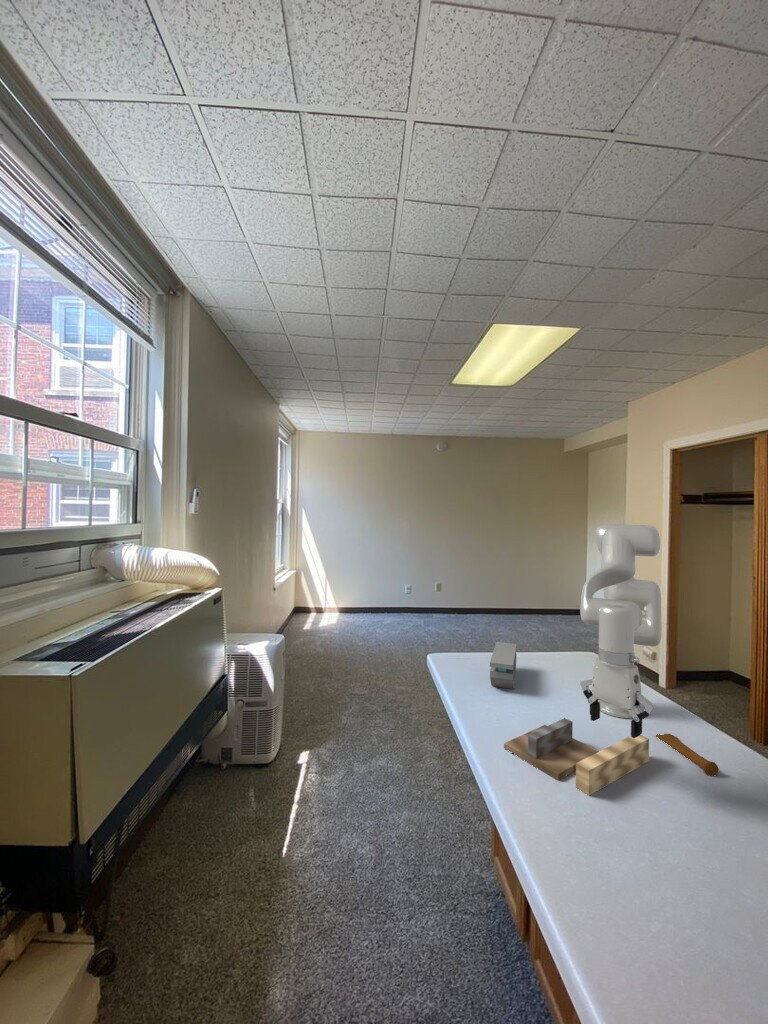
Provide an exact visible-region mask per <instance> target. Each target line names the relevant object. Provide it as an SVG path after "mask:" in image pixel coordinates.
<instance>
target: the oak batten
mask: <svg viewBox="0 0 768 1024" xmlns="http://www.w3.org/2000/svg"><path fill="white" fill-rule="evenodd" d="M598 751H599V752H597V753H595V754H593V755H591V756H589V757H587V758H585V759H583V760H581V761H579V762H577V763H576V770H575V789H576V788H577V790H578V789H579V790H578V791H580V790H581V791H582V793H583V792H584V793H583V794H585V795H586V794H587V795H586V796H588V795H590V796H591V795H593V794H595V793H596V791H597V792H599V791H600V790H601V788H602V789H603V788H605V787H607V786H609V785H610V784H612V783H614V782H615V781H617V780H619V779H620V777H621V778H622V777H624V776H625V775H628V774H629V773H632V771H634V770H636V769H638V768H640V767H641V766H642V765H645V764H646V763H648V762H649V761H650V738H648V737H645V736H643V735H642V734H641V735H640V736H638V737H636V738H633V737H632V736H631V735H629V736H628V737H626V738H624V739H622V740H619V741H617V742H615V743H614V744H611V745H609V746H608V747H606V748H605V747H604V749H602V750H598ZM647 761H648V762H647ZM644 763H645V764H644ZM613 781H614V782H613ZM608 784H609V785H608ZM606 785H607V786H606ZM599 789H600V790H599ZM581 791H580V792H581ZM594 792H595V793H594Z"/></svg>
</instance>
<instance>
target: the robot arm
mask: <svg viewBox="0 0 768 1024" xmlns="http://www.w3.org/2000/svg"><path fill="white" fill-rule="evenodd" d="M594 537H595V542H596V546H597V548H598V551H599V554H600V556H601V560H600V561H601V562H600V568H599V569H597V570H596V571H594V572H593V573H592V574H590V575H589V576H588V578H587V579H586V581H584V584H583V586H582V588H581V589H582V591H581V594H580V596H581V597H580V607H579V613H580V619H581V621H582V622H583V623H584V624H585V625H587V626H589V627H594V628H595V627H596V628H598V656H597V657H596V658H595V662H594V665H593V668H592V677H591V679H585V680H582V681H580V682H579V684H580V686H581V690H582V692H583V695H584V696H585V698H586V699H587V703H588V704H589V715H590V721H592V722H594V721H597V720H599V719H600V718H601V712H602V713H604V714H606V715H609V716H611V717H616V718H622V719H631V722H630V736H632V737H633V738H636V737H638V736H640V735H642V733H643V720H644V719H646V718H648V717H650V716H651V714H652V713H653V711H654V710H655V709H656V706H655V704H653V702H652V701H650V700H648V699H647V697H645V696H644V695H643V694H642V684H641V678H640V672H639V668H638V665H637V664H639V663H640V657H636V655H635V652H634V650H635V649H634V647H635V645H637V646H643V647H644V646H647V647H657V646H658V645H660V644H661V640H662V592H661V589H660V587H659V585H658V584H657V583H656V582H655V581H652V580H648V579H636V578H634V577H635V574H636V557H638V556H639V557H656V556H658V554H659V553H660V549H661V536H660V533H659V531H658V530H657V528H656V527H655V526H653V525H649V524H648V525H647V524H646V525H645V524H624V523H623V524H622V523H621V524H616V523H615V524H612V523H611V524H603V525H599V526H597V527H596V528H595V530H594ZM602 589H603V598H601V597H593V596H594V595H595V593H597V592H598V591H600V590H602ZM643 612H644V613H643ZM590 686H591V689H590ZM641 706H643V707H644V709H643V711H642V710H641V709H640V707H641Z"/></svg>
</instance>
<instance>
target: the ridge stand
mask: <svg viewBox="0 0 768 1024" xmlns="http://www.w3.org/2000/svg"><path fill="white" fill-rule="evenodd" d="M573 723H574V722H573V721H572V720H570V719H568V718H566V717H564V718H562V719H559V720H558V721H555V722H553V723H551V724H549V725H546V724H543V725H541V726H539V727H537V728H535V729H532V730H530V731H528V732H525V733H523V734H522V735H519V736H517V737H515V738H513V739H510V740H508V741H506V742H504V743H503V748H505V749H506V751H507V750H509V751H510V752H512V753H514V754H515V755H517V756H518V757H517V756H516V757H517V758H519V757H520V758H522V759H523V760H522V759H521V760H522V761H524V760H525V761H524V762H526V761H527V762H528V763H527V762H526V763H527V764H528V765H531V766H532V765H533V766H532V767H534V768H536V769H537V768H538V769H537V770H539V771H541V772H543V773H544V774H546V775H548V776H549V777H551V778H553V779H555V780H556V781H560V780H561V778H562V779H563V778H565V777H567V776H568V775H571V774H572V773H573V772H576V763H577V762H579V761H581V760H583V759H585V758H587V757H589V756H591V755H593V754H595V753H597V752H599V751H600V750H598V749H596V748H594V747H592V746H590V745H589V744H586V743H584V742H582V741H579V740H577V739H576V738H573V726H574V725H573ZM505 749H504V750H505ZM509 751H508V752H509ZM510 752H509V753H510ZM512 753H511V754H512ZM514 754H513V755H514ZM515 755H514V756H515ZM520 758H519V759H520ZM566 775H567V776H566Z"/></svg>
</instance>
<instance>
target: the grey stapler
mask: <svg viewBox="0 0 768 1024" xmlns="http://www.w3.org/2000/svg"><path fill="white" fill-rule="evenodd" d="M517 646H518V645H517V644H516V643H512V642H511V643H509V642H502V641H496V642H495V645H494V649H493V652H492V654H491V658H490V661H489V667H490V669H489V679H490V684H491V687H496V688H502V689H503V688H504V689H510V690H514V689H515V684H516V683H515V682H516V674H517Z"/></svg>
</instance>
